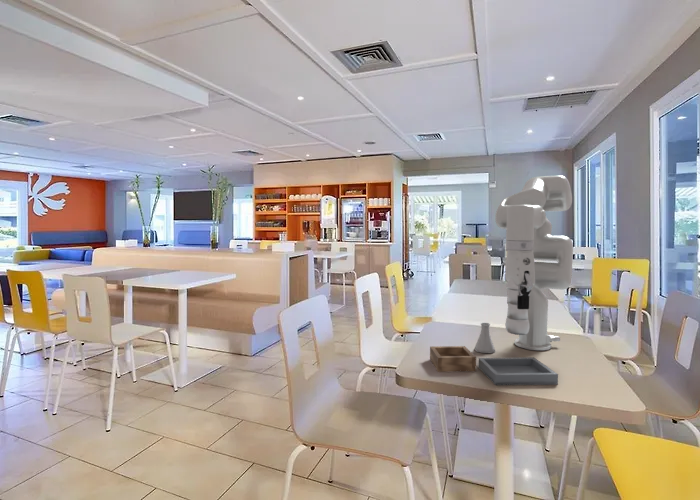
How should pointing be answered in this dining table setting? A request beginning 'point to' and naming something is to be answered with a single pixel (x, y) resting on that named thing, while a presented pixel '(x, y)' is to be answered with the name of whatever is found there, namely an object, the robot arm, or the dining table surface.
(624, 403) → the dining table surface
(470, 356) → the holder
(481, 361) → the parts tray
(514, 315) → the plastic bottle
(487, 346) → the flask
